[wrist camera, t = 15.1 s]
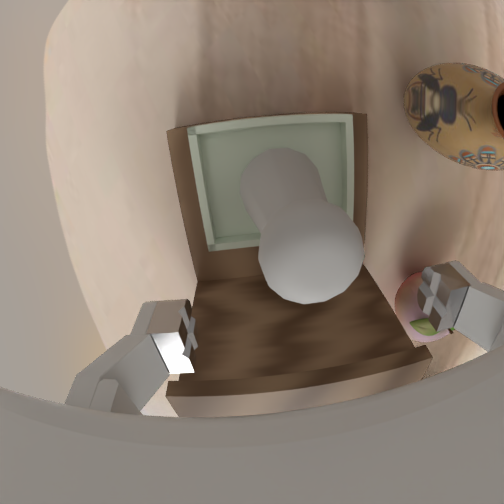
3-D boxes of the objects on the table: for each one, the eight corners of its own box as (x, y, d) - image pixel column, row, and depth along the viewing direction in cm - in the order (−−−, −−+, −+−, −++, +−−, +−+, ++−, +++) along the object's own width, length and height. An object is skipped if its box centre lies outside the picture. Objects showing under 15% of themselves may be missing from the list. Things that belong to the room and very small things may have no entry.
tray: (344, 113, 20) (352, 114, 18) (345, 227, 24) (352, 235, 23) (191, 126, 20) (186, 127, 18) (210, 241, 25) (208, 251, 23)
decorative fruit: (376, 313, 34) (406, 371, 25) (383, 260, 30) (425, 317, 21) (433, 299, 33) (468, 348, 25) (445, 248, 30) (491, 294, 21)
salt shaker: (224, 179, 22) (205, 270, 10) (278, 127, 20) (329, 157, 8) (275, 227, 24) (305, 345, 12) (327, 181, 22) (409, 267, 10)
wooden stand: (357, 112, 22) (488, 138, 8) (350, 302, 33) (399, 416, 18) (170, 129, 23) (70, 169, 8) (210, 319, 33) (199, 445, 19)
